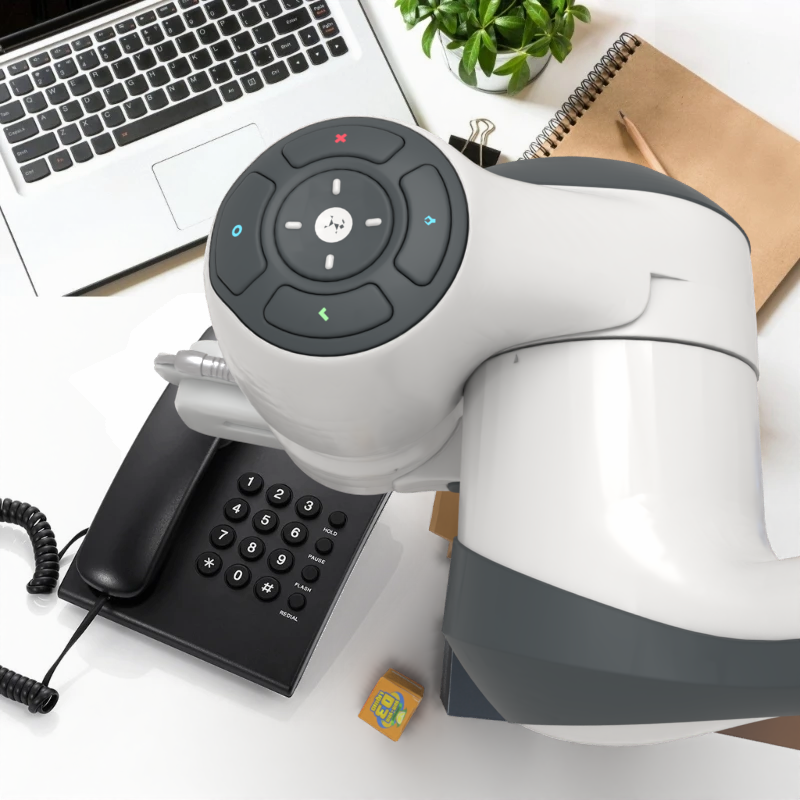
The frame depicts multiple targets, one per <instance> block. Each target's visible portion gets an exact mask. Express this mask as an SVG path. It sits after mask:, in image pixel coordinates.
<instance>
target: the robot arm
mask: <svg viewBox="0 0 800 800" xmlns="http://www.w3.org/2000/svg"><path fill="white" fill-rule="evenodd" d="M751 254H752V245H751V241H750V239H749V236H748V234H747V233H746V231H745V230H744V228H743V227H742V226H741V225H740V224H739V223H738V221H736V219H735V218H734V217H732V215H730V213H728V212H727V211H726V210H725V209H724V208H723V207H722V206H721V205H719V204H718V203H716V202H715V201H713V200H712V199H711V198H709V197H708V196H706V195H705V194H703V193H702V192H701V191H699V190H697V189H696V188H693V187H692V186H689V185H688V184H686V183H684V182H682V181H680V180H679V179H676V178H674V177H672V176H669V175H667V174H664V173H663V172H660V171H658V170H656V169H653V168H650V167H648V166H645V165H642V164H639V163H635V162H630V161H626V160H625V161H624V160H620V159H613V158H612V159H611V158H603V157H593V156H579V155H578V156H576V155H563V156H561V155H559V156H544V157H534V158H533V157H532V158H526V159H519V160H513V161H507V162H501V163H498V164H495V165H494V164H493V165H491V166H488V167H485V168H483V167H482V166H480V165H478V164H476V163H475V162H474V161H472V160H471V159H469V157H467V156H466V155H464V154H463V153H462V152H460V151H459V150H458V149H457V148H455V147H454V146H453V145H451V144H449V143H448V142H447V141H446V140H444V139H443V138H442V137H439V135H437V134H435V133H433V132H431V131H429V130H427V129H425V128H423V127H420V126H418V125H416V124H413V123H410V122H408V121H405V120H402V119H397V118H393V117H387V116H382V115H381V116H379V115H368V114H367V115H366V114H365V115H364V114H362V115H361V114H360V115H359V114H357V115H356V114H346V115H345V114H344V115H338V116H333V117H332V116H331V117H328V118H323V119H320V120H317V121H314V122H310V123H307V124H306V125H302V126H300V127H299V128H296V129H294V130H292V131H290V132H288V133H287V134H285V135H284V136H282V137H280V138H278V139H276V141H274V142H272V143H271V144H270V145H269V146H268V147H266V148H264V150H263V151H262V152H260V153H259V154H258V155H257V156H256V157H255V158H254V159H253V160H252V161H251V162H250V163H249V164H248V165H247V166H246V167H245V168H244V169H243V170H242V171H241V173H240V174H239V175H238V176H237V177H236V178H235V180H233V182H232V184H231V185H230V187H228V189H227V192H226V194H225V195H224V196H223V198H222V199H221V201H220V204H219V205H218V208H217V210H216V212H215V215H214V217H213V220H212V223H211V225H210V229H209V232H208V236H207V240H206V246H205V250H204V254H203V255H204V256H203V272H202V273H203V287H204V296H205V301H206V306H207V310H208V314H209V315H208V316H209V319H210V323H211V326H212V329H213V333H214V335H215V339H216V340H212V339H202V340H201V339H200V340H198V341H197V340H196V341H195V342H193V343H191V345H190V347H189V349H180V350H178V351H177V353H176V354H173V353H168V352H158V354H157V356H156V357H154V360H153V364H154V367H153V369H154V372H155V373H156V374H158V375H159V376H160V377H161V378H162V379H163V380H164V381H165V382H167V383H169V384H171V385H174V386H177V387H178V388H177V391H176V395H175V399H174V407H175V410H176V412H177V414H178V415H179V416H178V417H180V419H181V420H182V422H183V423H184V424H185V425H186V426H187V428H189V429H190V430H193V431H195V432H197V433H200V434H203V435H205V436H206V435H207V436H210V437H215V438H220V439H225V440H229V441H234V442H240V443H245V444H251V445H255V446H259V447H265V448H271V449H276V450H281V451H285V453H286V454H287V455H288V457H289V458H290V460H291V461H292V462H293V464H295V465H296V466H297V468H298V469H300V471H302V472H303V473H304V474H305V475H307V477H309V478H310V479H312V480H314V481H315V482H317V483H318V484H320V485H323V486H324V487H327V488H329V489H331V490H333V491H337V492H341V493H344V494H351V495H358V496H359V495H360V496H375V495H382V494H387V493H392V492H396V493H398V494H416V493H427V492H428V493H429V492H436V491H451V492H454V493H460V494H459V517H458V536H455V537H454V538H453V545H452V553H451V558H450V563H449V569H448V570H449V571H448V577H447V585H446V592H445V600H444V608H443V614H442V615H443V616H442V623H441V624H442V625H441V633H442V634H443V636H444V639H445V638H446V639H447V641H448V643H449V645H450V646H451V648H452V650H453V651H454V653H455V655H456V656H457V658H458V660H459V661H460V663H461V664H462V666H463V667H464V669H465V670H466V672H467V673H468V675H469V676H470V678H471V679H472V680H473V682H474V683H475V684H476V686H477V687H478V688H479V690H480V691H481V692H482V693H483V695H484V696H485V697H486V698H487V700H488V701H489V702H490V703H491V704H492V706H493V707H494V708H495V709H496V710H497V711H498V712H499V713H500V714H501V716H502V717H503V718H504V719H505V720H506V721H507V723H509V724H516V725H521V726H522V727H524V728H526V729H528V730H530V731H532V732H534V733H536V734H539V735H542V736H545V737H548V738H551V739H556V740H559V741H562V742H563V741H564V742H567V743H572V744H580V745H587V746H588V745H589V746H598V747H599V746H600V747H633V746H635V747H636V746H649V745H657V744H658V745H659V744H663V743H668V742H669V743H670V742H676V741H681V740H686V739H690V738H695V737H699V736H703V735H708V734H712V733H714V732H716V731H720V730H724V729H728V728H732V727H736V726H740V725H744V724H748V723H752V722H757V721H761V720H766V719H770V718H775V717H781V716H798V715H800V555H797V556H792V557H786V558H778V556H777V554H776V553H775V551H774V550H773V547H772V545H771V542H770V539H769V536H768V532H767V525H766V514H765V512H766V511H765V496H764V479H763V478H764V477H763V462H762V461H763V460H762V444H761V443H762V442H761V441H762V440H761V427H760V426H761V424H760V410H759V409H760V408H759V406H760V405H759V394H758V393H759V391H758V382H759V379H760V359H759V358H760V357H759V341H758V323H757V308H756V298H755V286H754V285H755V283H754V275H753V265H752V257H751ZM506 721H505V722H506Z"/></svg>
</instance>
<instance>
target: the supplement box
mask: <svg viewBox="0 0 800 800" xmlns="http://www.w3.org/2000/svg"><path fill="white" fill-rule="evenodd" d="M424 694H425V687H424V686H423V685H422V684H420V683H418V682H417V681H415V680H414V679H411V678H410V677H408V676H406V674H403V673H401V672H399V671H398V670H396V669H395V668H392V667H389V668H388V670H387V671H386V672H385V673H384V674H382V676H380V678H379V679H378V680H377V682H376V684H375V685H374V687H373V689H372V691H371V692H370V694H369V696H368V697H367V699H366V701H365V703H364V704H363V705H362V708H361V709H360V711H359V713H358V715H357V717H358V718H359V719H360V720H361V721H363V722H365V723H366V724H367V725H369V726H371V727H372V728H373V729H375V730H376V731H378V732H379V733H380V734H382V735H384V736H385V737H387V738H388V739H390V740H391V741H393V742H394V743H396V742H399V740H400V738H401V737H402V735H403V733H404V731H405V729H406V727H407V725H408V724H409V722H410V720H411V719H412V717H413V716H414V714H415V713H416V711H417V709H418V707H419V706H420V704H421V702H422V701H423V699H424Z"/></svg>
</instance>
